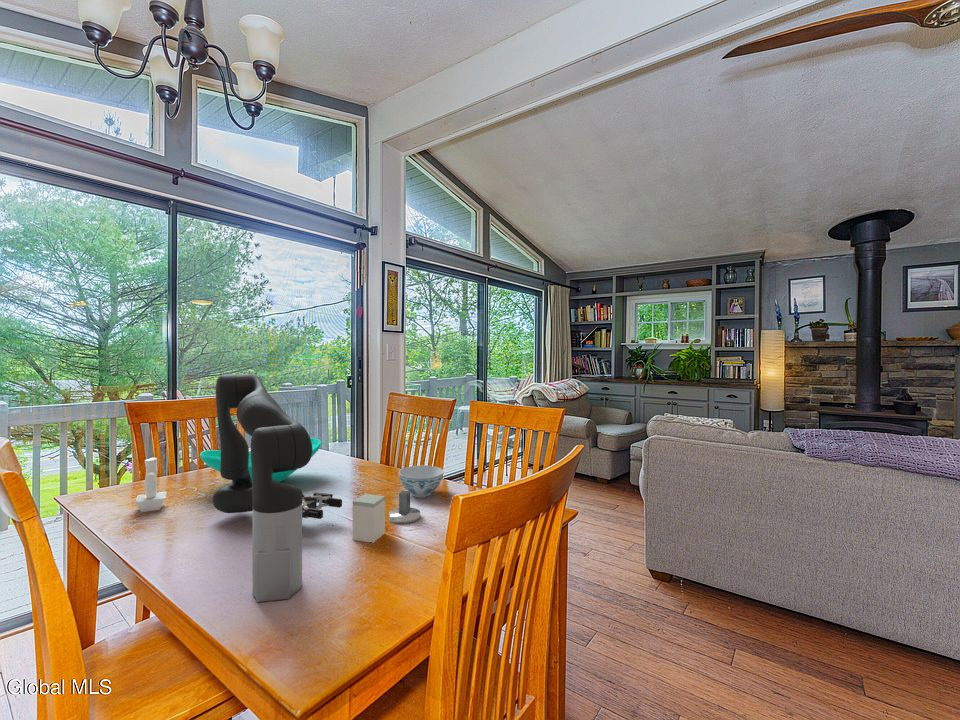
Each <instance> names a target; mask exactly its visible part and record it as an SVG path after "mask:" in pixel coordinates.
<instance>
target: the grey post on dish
mask: <svg viewBox="0 0 960 720" xmlns="http://www.w3.org/2000/svg"><path fill="white" fill-rule="evenodd" d="M420 519H421V511H420V510H419V509H418V508H417V507H411V492H410V491H408V490H402V491H400V492H398V507H397V508H394V509H391V510H390V511H389V512H388V520H389V522H390V523H393V524H396V523H397V525H408V524H407V523H409V524H413V522H414V523H416V522H418V521H419V520H420Z"/></svg>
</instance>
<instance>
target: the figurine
mask: <svg viewBox="0 0 960 720" xmlns="http://www.w3.org/2000/svg"><path fill="white" fill-rule="evenodd" d="M144 465H145V476H144V477H145V478H144V491H145V493H143V494H137V496H136V498H135V501H134V503H135V506H137V508H138V509H139V510H140V512H141V513H145V512H155V511H160V510H161V508H162V506H163V504H164V502H165V500H166V497H167V493H168V491H167V490H166V491H158V490H157V487H158V486H157V485H158V483H157V482H158V481H157V479H158V478H157V477H158V476H157V475H158V457H150V458H148V459H147V458H146V459H144Z"/></svg>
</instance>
